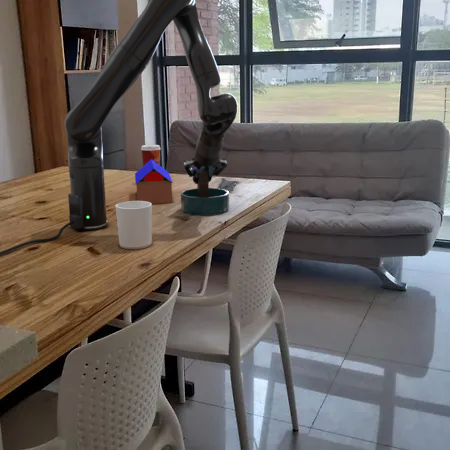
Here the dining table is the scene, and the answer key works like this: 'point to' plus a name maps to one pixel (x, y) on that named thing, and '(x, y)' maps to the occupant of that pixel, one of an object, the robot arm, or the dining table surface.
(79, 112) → the robot arm
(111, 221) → the dining table surface
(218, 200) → the bowl
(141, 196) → the house
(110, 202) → the dining table surface
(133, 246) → the mug
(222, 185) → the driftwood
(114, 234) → the dining table surface
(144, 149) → the paper cup
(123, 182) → the dining table surface
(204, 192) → the brown rectangular block
